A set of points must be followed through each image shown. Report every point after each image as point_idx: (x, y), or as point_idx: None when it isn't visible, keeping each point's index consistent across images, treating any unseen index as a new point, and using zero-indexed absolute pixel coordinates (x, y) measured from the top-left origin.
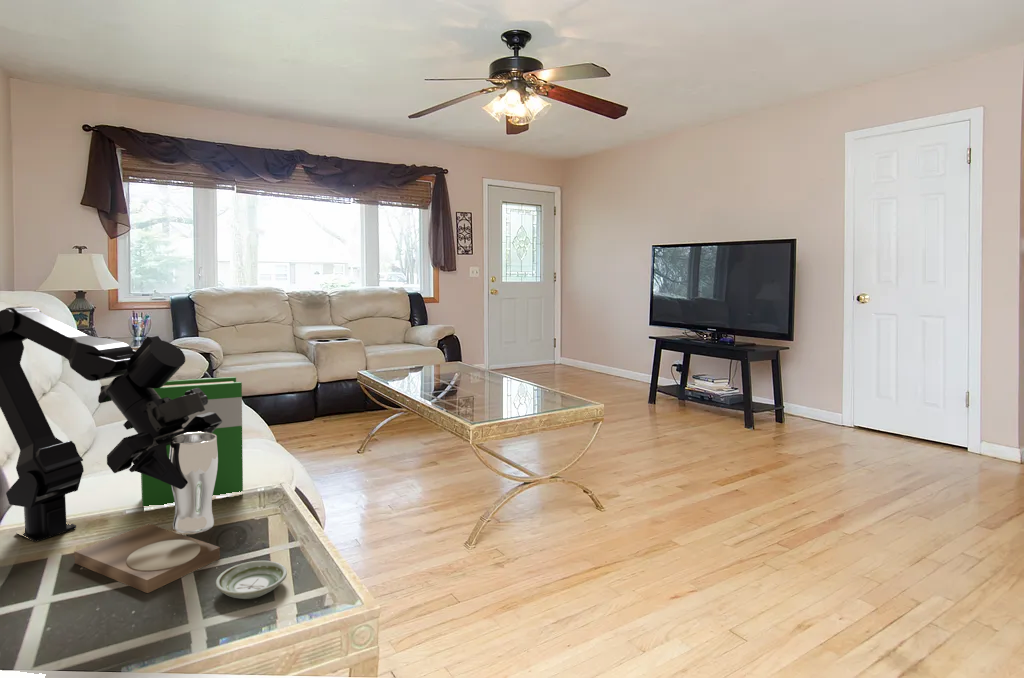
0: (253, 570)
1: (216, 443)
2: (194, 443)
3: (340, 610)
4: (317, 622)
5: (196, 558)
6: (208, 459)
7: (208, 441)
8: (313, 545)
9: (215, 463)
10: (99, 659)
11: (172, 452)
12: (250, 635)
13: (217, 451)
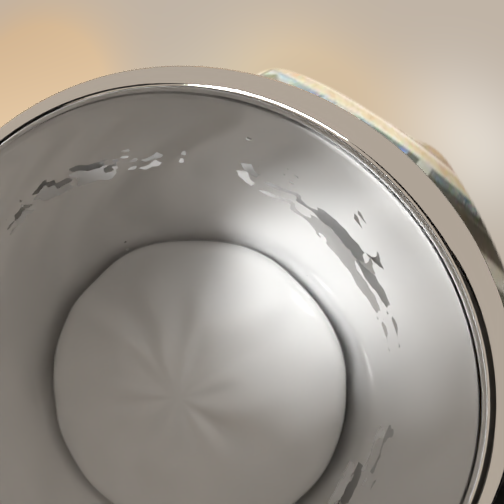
0: None
1: (36, 172)
2: (369, 130)
3: (293, 80)
4: (324, 88)
5: None
6: (209, 203)
7: (168, 69)
8: None
9: (147, 233)
10: (486, 252)
11: (404, 480)
12: (380, 131)
13: (64, 225)
